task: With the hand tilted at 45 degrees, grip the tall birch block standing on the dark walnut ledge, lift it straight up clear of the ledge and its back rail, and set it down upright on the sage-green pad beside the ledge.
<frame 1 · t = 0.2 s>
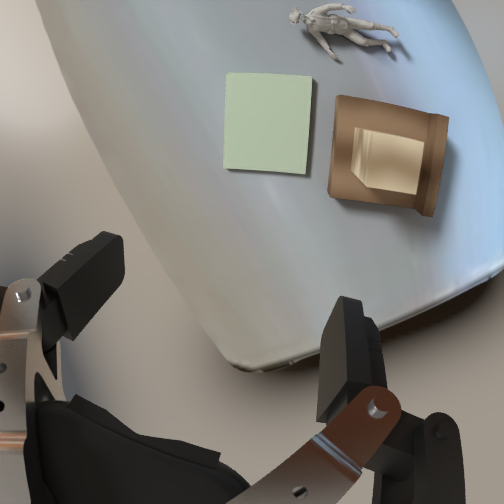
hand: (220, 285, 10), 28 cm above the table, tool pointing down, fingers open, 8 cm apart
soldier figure: (342, 32, 27), on the table
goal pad: (267, 121, 34), on the table
walnut ledge: (375, 150, 33), on the table
birch block: (373, 152, 31), point 3 cm above the table, touching walnut ledge
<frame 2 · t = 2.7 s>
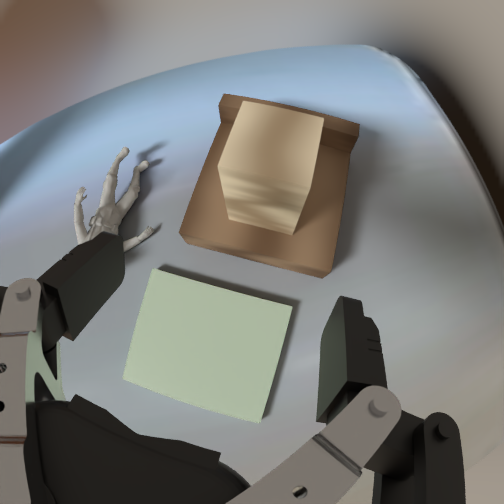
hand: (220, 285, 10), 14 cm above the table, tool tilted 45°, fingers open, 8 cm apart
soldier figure: (120, 219, 27), on the table
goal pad: (204, 346, 24), on the table
walnut ledge: (269, 202, 27), on the table
birch block: (268, 198, 24), point 3 cm above the table, touching walnut ledge
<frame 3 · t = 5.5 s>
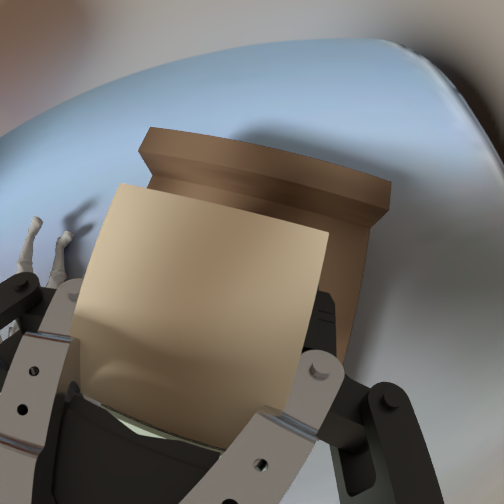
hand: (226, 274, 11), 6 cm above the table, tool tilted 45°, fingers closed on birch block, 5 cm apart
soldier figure: (50, 318, 17), on the table
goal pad: (149, 490, 14), on the table
walnut ledge: (232, 308, 17), on the table
birch block: (222, 324, 14), point 3 cm above the table, touching gripper, walnut ledge
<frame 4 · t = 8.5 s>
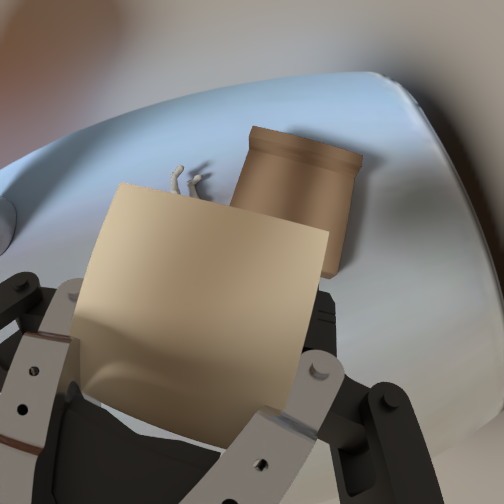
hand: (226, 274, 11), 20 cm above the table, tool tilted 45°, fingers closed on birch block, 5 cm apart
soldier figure: (186, 227, 33), on the table
walnut ledge: (288, 217, 33), on the table
birch block: (222, 324, 14), point 17 cm above the table, touching gripper
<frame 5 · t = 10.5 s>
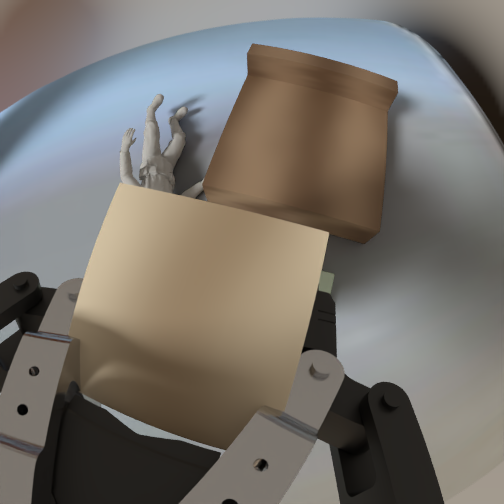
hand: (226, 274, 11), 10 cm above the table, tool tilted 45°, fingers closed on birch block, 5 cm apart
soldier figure: (167, 174, 23), on the table, touching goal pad
walnut ledge: (302, 160, 23), on the table
birch block: (222, 324, 14), point 7 cm above the table, touching gripper
when the fingers open (6 cm above the table, at t = 11.8 s): birch block drops 2 cm, resting on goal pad.
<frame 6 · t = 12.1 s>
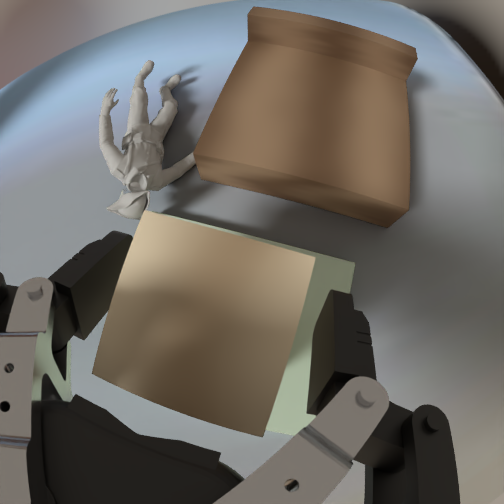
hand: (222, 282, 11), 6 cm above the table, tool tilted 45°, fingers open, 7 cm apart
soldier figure: (156, 147, 19), on the table
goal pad: (226, 325, 16), on the table
walnut ledge: (311, 132, 19), on the table
birch block: (225, 326, 15), point 1 cm above the table, touching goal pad
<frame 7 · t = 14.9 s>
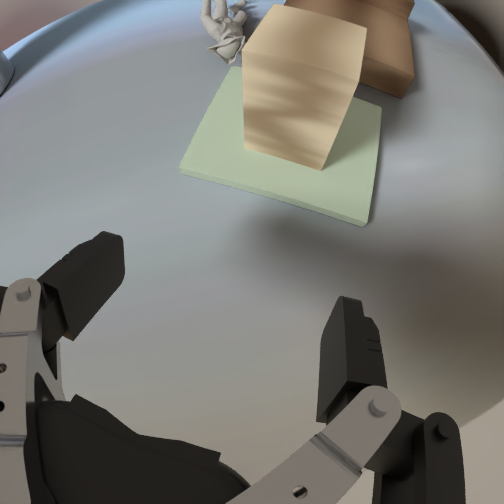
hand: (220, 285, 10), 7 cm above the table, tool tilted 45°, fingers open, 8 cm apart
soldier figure: (230, 38, 23), on the table
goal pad: (290, 135, 19), on the table
walnut ledge: (342, 43, 22), on the table
birch block: (292, 129, 19), point 1 cm above the table, touching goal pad
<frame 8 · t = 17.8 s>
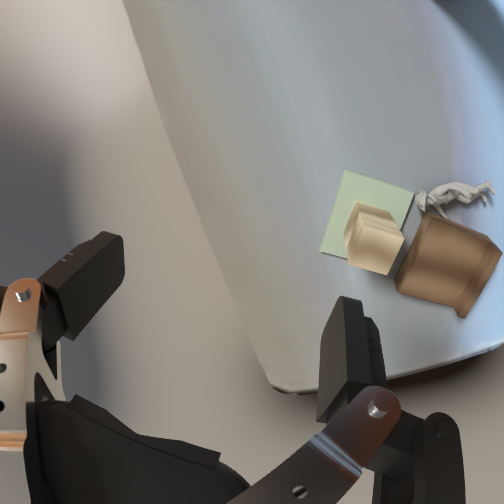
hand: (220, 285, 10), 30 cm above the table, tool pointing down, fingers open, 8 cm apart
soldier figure: (450, 190, 34), on the table
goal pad: (365, 220, 39), on the table
walnut ledge: (439, 257, 39), on the table
birch block: (366, 222, 38), point 1 cm above the table, touching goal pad
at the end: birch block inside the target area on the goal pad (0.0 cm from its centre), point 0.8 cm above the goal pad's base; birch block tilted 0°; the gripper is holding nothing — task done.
